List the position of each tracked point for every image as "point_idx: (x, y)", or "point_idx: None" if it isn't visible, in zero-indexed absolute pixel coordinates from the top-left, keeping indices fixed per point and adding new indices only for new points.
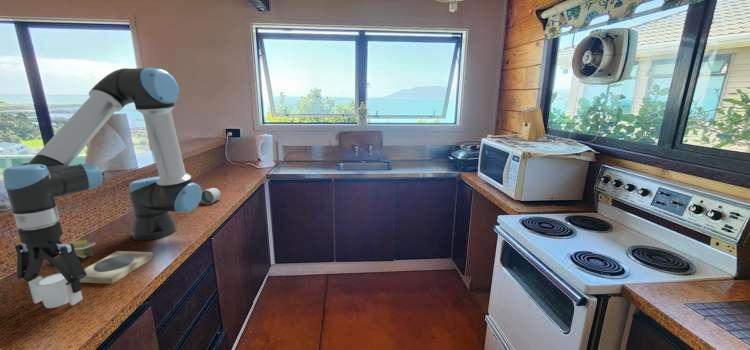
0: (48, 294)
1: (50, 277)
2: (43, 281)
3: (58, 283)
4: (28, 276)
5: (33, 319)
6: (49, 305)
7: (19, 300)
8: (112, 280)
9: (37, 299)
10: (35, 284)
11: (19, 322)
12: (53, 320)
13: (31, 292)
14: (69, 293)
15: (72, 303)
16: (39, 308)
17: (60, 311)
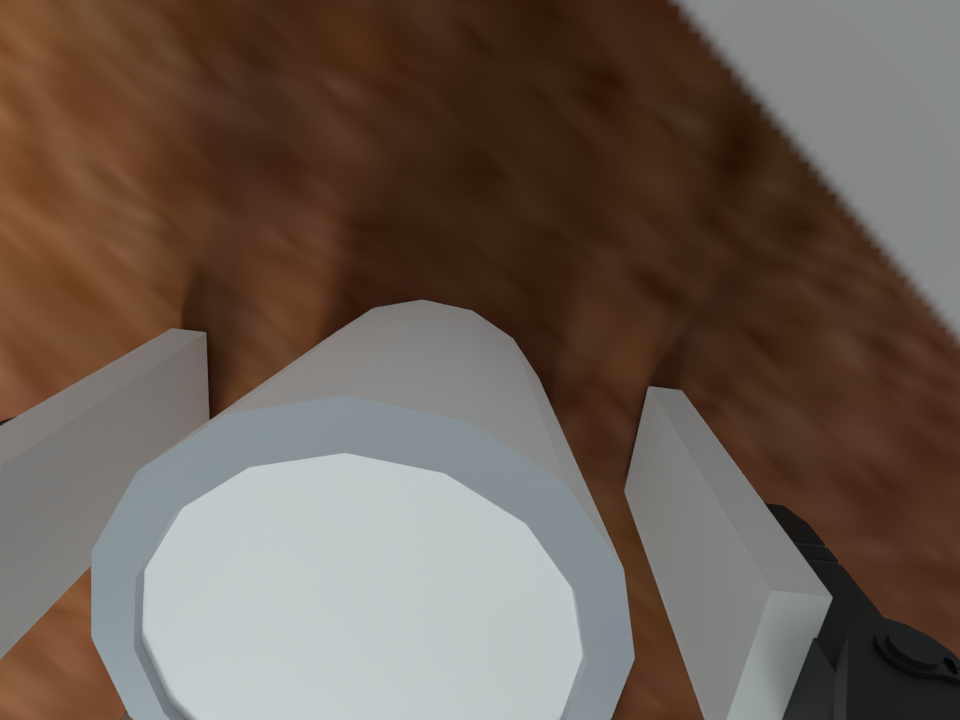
0: (328, 353)
1: (494, 707)
2: (493, 585)
3: (121, 511)
4: (876, 716)
5: (409, 81)
6: (405, 306)
7: (916, 463)
8: (123, 715)
9: (653, 420)
10: (562, 489)
11: (532, 23)
12: (132, 48)
13: (728, 464)
14: (74, 393)
15: (163, 337)
16: (541, 302)
17: (229, 231)
